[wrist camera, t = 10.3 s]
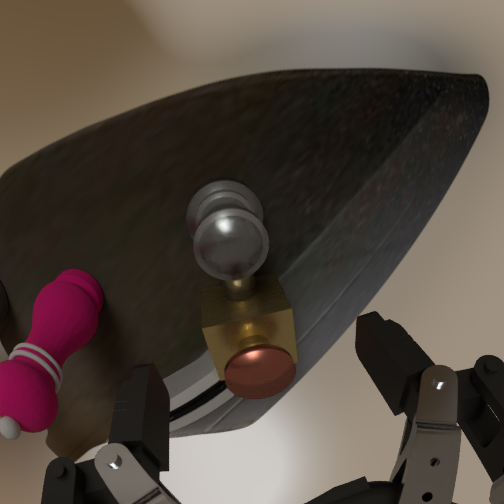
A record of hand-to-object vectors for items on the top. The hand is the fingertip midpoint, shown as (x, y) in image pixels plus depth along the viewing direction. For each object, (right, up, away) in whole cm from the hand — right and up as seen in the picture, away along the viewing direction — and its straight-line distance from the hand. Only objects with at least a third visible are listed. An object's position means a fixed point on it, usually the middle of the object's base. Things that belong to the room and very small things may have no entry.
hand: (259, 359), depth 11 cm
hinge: (-9, -12, +26) cm, 30 cm away
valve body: (-2, +3, +20) cm, 21 cm away
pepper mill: (-20, -1, +19) cm, 27 cm away
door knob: (-3, +7, +16) cm, 18 cm away
